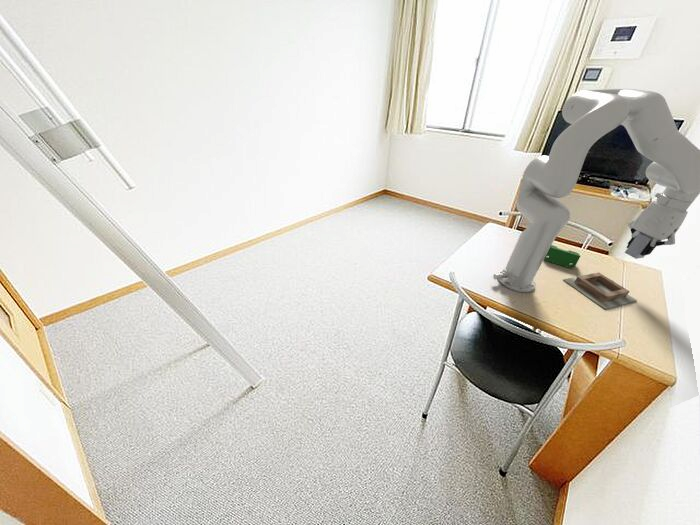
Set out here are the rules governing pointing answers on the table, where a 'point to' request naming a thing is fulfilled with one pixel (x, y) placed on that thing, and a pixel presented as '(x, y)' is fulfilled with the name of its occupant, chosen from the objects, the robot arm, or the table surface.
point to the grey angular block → (638, 245)
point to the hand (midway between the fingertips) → (637, 250)
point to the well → (601, 290)
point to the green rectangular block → (562, 257)
